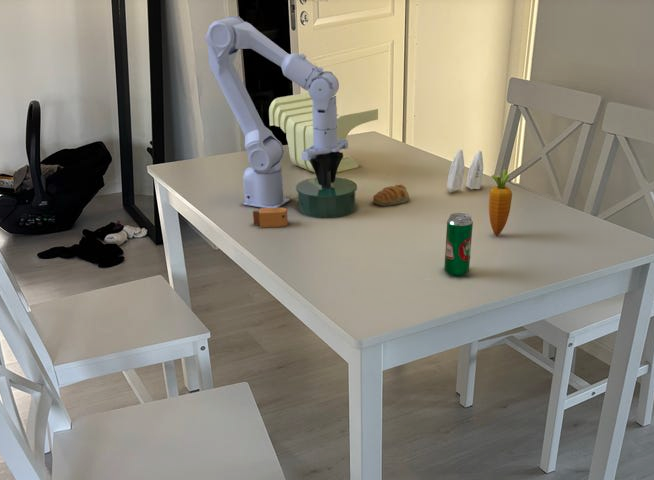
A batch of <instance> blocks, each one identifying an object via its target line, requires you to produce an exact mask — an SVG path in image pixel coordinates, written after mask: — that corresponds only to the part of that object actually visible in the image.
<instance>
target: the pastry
mask: <svg viewBox="0 0 654 480" xmlns="http://www.w3.org/2000/svg"><path fill="white" fill-rule="evenodd" d="M372 199H373V200H372V203H374V204H376V205H380V206H383V207H388V206H394V205H401V204H405V203H407V202H408V201H409V200H410V195H409V192H408V190H407V187H406V186H405V185H403V184H395V185H390V186H386V187H383V188H382V190H380V191H378V192H377V193H375V194H374V195H373V197H372Z"/></svg>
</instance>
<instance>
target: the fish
mask: <svg viewBox="0 0 654 480" xmlns="http://www.w3.org/2000/svg"><path fill="white" fill-rule="evenodd" d="M252 217H253V218H252V219H253V225H259V228H261V229H262V228H283V227H287V226H288V224H289V222H288V221H289V220H288V209H287V208H286V207H279V208H261V207H259V209H258V210H253V211H252Z"/></svg>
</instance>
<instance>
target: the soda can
mask: <svg viewBox="0 0 654 480" xmlns="http://www.w3.org/2000/svg"><path fill="white" fill-rule="evenodd" d="M473 227H474V221H473V220H472V215H470V214H469V213H463V212H455V213H451V214H449V218H448V219H447V220H446V232H445V234H446V235H445V237H446V238H445V248H444V250H445V251H444V265H443V266H444V267H443V270H444V272H445V273H446V274H447V275H448V276H451V277H464V276H466V275H467V274H468V273H469V272H470V264H471V252H472V250H471V249H472V239H473V238H472V237H473Z"/></svg>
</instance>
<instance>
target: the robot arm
mask: <svg viewBox="0 0 654 480" xmlns="http://www.w3.org/2000/svg"><path fill="white" fill-rule="evenodd" d="M204 39H205V42H206V44H207V53H208V54H207V55H208V66H209V70H210V71H211V72H212V75H213V77H214V78H215V80H216V83H217V84H218V86H219V88H220V90H221V92H222V94H223V96H224V98H225V100H226V102H227V104H228V106H229V107H230V109H231V112H232V113H233V115H234V117H235V119H236V121H237V123H238V125H239V127H240V129H241V132H242V133H243V135H244V148H245V150H246V152H247V160H248V164H249V165H250V166H249V167H247V168H246V169H245V170H244V172H243V178H242V182H243V192H244V193H243V195H244V202H243V205H244V206H248V207H256V208H281V207H282V206H284V205H285V204H287V203H288V202H290V201H291V198H288V197H284V187H283V186H284V185H283V169H282V168H283V167H282V164H281V160H282V159H283V157H284V155H285V147H284V145H283V143H282V142H281V141H280V140H278V138H276V136H275V135H274V134H273V131H272V130H270V129H269V128H268V127H266V125H265V124H264V122H263V120H262V118H261V117H260V114H259V112H258V110H257V109H256V106H255V104H254V102H253V99H252V98H251V96H250V94H249V92H248V90H247V88H246V86H245V84H244V82H243V80H242V78H241V77H240V73H239V72H238V70H237V68H236V66H235V61H236V58H237V55H238V53H239V50H244V49H245V50H246V49H251V50H253V51H254V52H256V53H258V54H259V55H261V56H262V57H264V58H266V59H267V60H269V61H270V62H272V63H274V64H276V66H279V67H280V68H281V71H282V74H283V76H284V77H286V78H287V79H288V80H290V81H291V82H293V83H294V84H296V85H297V86H299V87H300V88H302V89H303V90H305V91H306V92H307V93H309V95H310V97H311V98H312V102H313V108H312V110H313V143H314V145H313V146H311V147H310V148H308V149H307V150H305V151H302V160H306V161H310V163H311V165H312V166H313V168H314V171H315V172H314V173H315V176H316V177H315V178H317V180H318V184H319V185H323V186H326V184H327V171H328V169H330V170H331V183H334V181H335V177H336V176H337V173H338V172H337V169H338V166H339V164H340V161H341V160H342V158H343V155H344V152H342V151H341V150H347V149H349V140H347V139H346V140H343V139H341V140H337V114H338V108H337V95H336V94H337V93H338V91H339V89H340V82H339V79H338V77H336V75H335V74H334V73H333V72H332V71H329V70H325V71H324V68H323V67H322V66H316V65H315V64H314V63H312V62H311V61H309V60H308V59H307V55H305V54H304V53H300V54H299V53H298V52H293V53H288V52H286V51H285V50H284V49H283V48H282V47H280V46H279V45H278V44H277V43H275V42H274V41H272V40H271V39H270V38H268V37H267V36H266V35H264V34H263V33H262V32H260V31H259V30H258V29H257V28H256V27H254V25H252V23H249V22H248V21H244V20H243V19H242V18H241V17H239V16H236V15H230V16H227V17H226V18H223V19H218V20H215V21H213V22H211V24H210V25H209V27H208V29H207V32H206V35H205V38H204Z"/></svg>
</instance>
